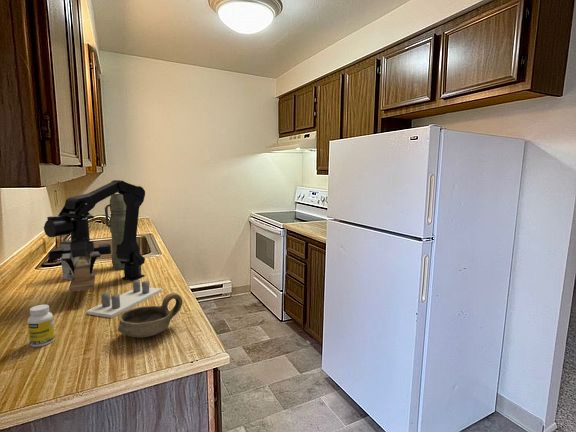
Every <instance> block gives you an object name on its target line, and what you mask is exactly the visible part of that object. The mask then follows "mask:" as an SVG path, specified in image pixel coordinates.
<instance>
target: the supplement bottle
mask: <svg viewBox="0 0 576 432" xmlns="http://www.w3.org/2000/svg"><path fill="white" fill-rule="evenodd" d="M29 314H30V315H29V317H28V318H27V328H28V329H27V331H28V332H27V333H28V341H29V346H30V347H35V348H37V347H43V346H46V345H49V344H51V343H52V342H53V341H54V340H55V339H56V338H55V324H54V315H53V313H52V312H50V306H49V305H48V304H39V305H38V304H37V305H35V306H32V307H30V309H29Z"/></svg>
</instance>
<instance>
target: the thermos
mask: <svg viewBox="0 0 576 432" xmlns="http://www.w3.org/2000/svg"><path fill="white" fill-rule="evenodd" d="M109 198H110V199H109V204H106V206H105V207H104V215H105V225H106V226H107V228H109V232H110V233H111V247H112V248H111V264H112V269H113V270H114V269H115V271H124V265H125V264H121V263H120V260H119V259H118V258H117V254H116V251H117V244H121V243H122V241H123V236H124V226H125V215H126V204H125V202H124V200H123V195H122V194H119V193H115V194H113V195H111V196H110V197H109ZM108 209H109V210H108ZM109 212H110V214H109ZM109 215H110V218H109Z"/></svg>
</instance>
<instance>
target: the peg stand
mask: <svg viewBox="0 0 576 432" xmlns="http://www.w3.org/2000/svg"><path fill="white" fill-rule="evenodd" d="M132 288H133V289H131V290H128V291H126V292H124V293H121V294H113V295H111V293H110V292H104V293H102V294H101V303H100V304H97V305H95V306H94V307H92V308H90V309H88V310H85V313H86V315H92V316H97V317H103V318H108V319H112V318H114V317H117V316H118V315H121V314H122V313H123V312H125V311H127V310H130V309H132V308H133V307H135V306H137V305H139V304H141V303H144V301H147V300H148V299H150V298H152V297H154V296H156V295H157V294H160V293H161V292H162V291H163V289H162V288H160V287H159V288H158V287H150V281H148V280H143V281H141V280H140V279H136V280H132Z"/></svg>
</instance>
